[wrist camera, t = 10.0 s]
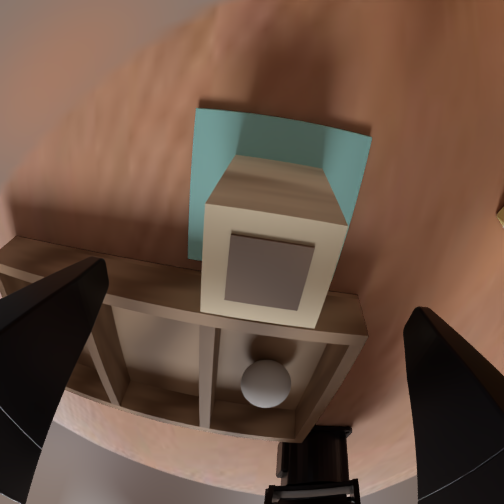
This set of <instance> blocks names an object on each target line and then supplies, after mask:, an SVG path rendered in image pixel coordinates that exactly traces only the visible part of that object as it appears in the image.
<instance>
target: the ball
mask: <svg viewBox="0 0 504 504" xmlns="http://www.w3.org/2000/svg"><path fill="white" fill-rule="evenodd" d="M290 389H291V378H290V375H289V373H288V371H287V370H286V368H285V367H284V366H283V365H281V364H280V363H278V362H276V361H273V360H260V361H257V362H254V363H253V364H251V365H250V366H249V367H248V368H247V369H246V370H245V371H244V373H243V375H242V378H241V390H242V393H243V395H244V397H245V398H246V399H247V400H248V401H249V402H250V403H251V404H253V405H255V406H257V407H261V408H270V407H274V406H277V405H279V404H280V403H282V402H283V401H284V400H285V399H286V398H287V396H288V394H289V392H290Z"/></svg>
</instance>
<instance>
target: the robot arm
mask: <svg viewBox="0 0 504 504" xmlns="http://www.w3.org/2000/svg"><path fill="white" fill-rule="evenodd" d="M108 288H109V278H108V273H107V267H106V262H105V260H104V259H103V258H101V257H96V256H90V257H88V258H85V259H83V260H81V261H79V262H77V263H74V264H72V265H70V266H68V267H66V268H63V269H61V270H59V271H57V272H55V273H53V274H50V275H48V276H46V277H44V278H42V279H40V280H38V281H36V282H34V283H32V284H30V285H28V286H25V287H23V288H21V289H19V290H17V291H15V292H13V293H11V294H9V295H7V296H5V297H4V298H2V299H0V494H2V495H4V496H6V497H8V498H10V499H12V500H14V501H16V502H18V503H20V504H25V503H26V501H27V496H28V493H29V489H30V486H31V483H32V479H33V475H34V472H35V469H36V466H37V463H38V460H39V457H40V454H41V451H42V450H41V449H42V447H43V444H44V441H45V439H46V436H47V433H48V430H49V428H50V425H51V422H52V420H53V417H54V415H55V412H56V410H57V407H58V405H59V402H60V400H61V397H62V395H63V393H64V390H65V388H66V386H67V383H68V381H69V379H70V376H71V374H72V372H73V370H74V367H75V365H76V363H77V361H78V359H79V357H80V354H81V352H82V350H83V348H84V346H85V344H86V342H87V340H88V338H89V336H90V334H91V331H92V329H93V326H94V324H95V321H96V319H97V316H98V313H99V311H100V308H101V306H102V303H103V301H104V298H105V296H106V293H107V291H108ZM403 337H404V347H405V359H406V373H407V382H408V388H409V395H410V402H411V410H412V418H413V426H414V436H415V447H416V461H417V477H418V478H417V479H418V500H419V501H418V504H504V376H503V375H502V374H501V373H500V372H499V371H498V370H497V369H496V368H495V367H494V366H493V365H492V364H491V363H490V362H489V361H488V360H487V359H486V358H485V357H483V356H482V355H481V354H480V353H479V352H478V351H477V350H476V349H475V348H474V347H473V346H472V345H471V344H469V343H468V342H467V341H466V340H465V339H464V338H463V337H462V336H461V335H460V334H458V333H457V332H456V331H455V330H454V329H453V328H452V327H451V326H449V325H448V324H447V323H446V322H445V321H444V320H443V319H441V318H440V317H439V316H438V315H437V314H436V313H435V312H433V311H432V310H431V309H430V308H428V307H420V306H419V307H416V308H415V309H414V311H413V312H412V314H411V316H410V318H409V320H408V321H407V323H406V325H405V327H404V331H403ZM351 433H352V428H351V427H316V426H313V428H312V429H311V431H310V432H309V433H308V435H307V436H306V438H305V439H304V440H303V442H302V443H291V442H280V443H279V445H278V452H277V468H276V476H277V477H278V478H281V486H275V485H269V488H268V489H266V491H265V501H264V504H361V503H360V493H359V484H358V478H357V479H352V480H349V469H348V454H347V441H346V438H347V437H348V436H349V435H350V434H351ZM346 494H350V497H347V495H346Z"/></svg>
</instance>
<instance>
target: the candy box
mask: <svg viewBox="0 0 504 504" xmlns="http://www.w3.org/2000/svg"><path fill="white" fill-rule="evenodd" d="M497 218H498V219H499V221H500V223H501V225H502V226H503V228H504V207H503V208H502V209H501V210H500V211H499V212H498V214H497Z"/></svg>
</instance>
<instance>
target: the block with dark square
mask: <svg viewBox="0 0 504 504" xmlns="http://www.w3.org/2000/svg"><path fill="white" fill-rule="evenodd" d="M347 229H348V224H347V222H346V220H345V217H344V215H343V213H342V210H341V208H340V206H339V204H338V201H337V199H336V197H335V195H334V192H333V190H332V188H331V186H330V184H329V182H328V179H327V177H326V175H325V173H324V171H323V169H322V168H316V167H311V166H306V165H300V164H294V163H288V162H282V161H276V160H270V159H263V158H256V157H249V156H242V155H235V156H234V158H233V159H232V161H231V163H230V164H229V166H228V167H227V169H226V170H225V172H224V174H223V175H222V177H221V178H220V180H219V182H218V183H217V185H216V186H215V188H214V190H213V191H212V193H211V195H210V196H209V198H208V200H207V201H206V203H205V214H204V231H203V251H202V275H201V308H200V312H205V313H211V314H217V315H223V316H229V317H235V318H241V319H248V320H254V321H261V322H268V323H275V324H282V325H290V326H298V327H306V328H314V329H315V326H316V323H317V320H318V318H319V315H320V312H321V309H322V306H323V304H324V301H325V298H326V295H327V292H328V289H329V286H330V283H331V280H332V277H333V274H334V271H335V268H336V265H337V262H338V259H339V255H340V252H341V249H342V246H343V243H344V239H345V236H346V233H347Z"/></svg>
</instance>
